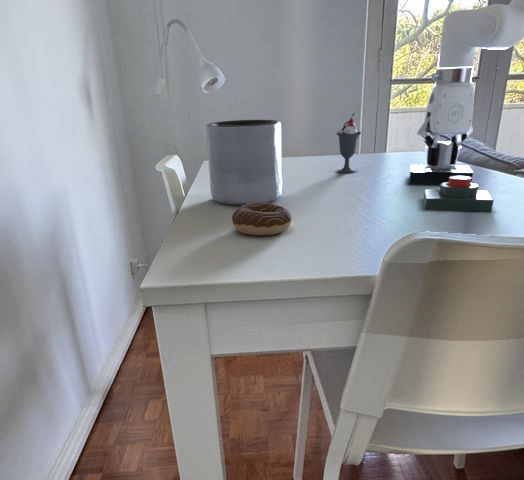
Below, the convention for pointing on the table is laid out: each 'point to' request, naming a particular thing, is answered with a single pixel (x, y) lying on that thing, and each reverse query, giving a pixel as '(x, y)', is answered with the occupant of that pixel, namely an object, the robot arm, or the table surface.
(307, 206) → the table surface
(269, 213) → the donut
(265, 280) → the table surface
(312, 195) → the table surface
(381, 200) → the table surface
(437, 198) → the box
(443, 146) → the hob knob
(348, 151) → the sundae
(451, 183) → the button
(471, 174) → the block
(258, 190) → the planter
